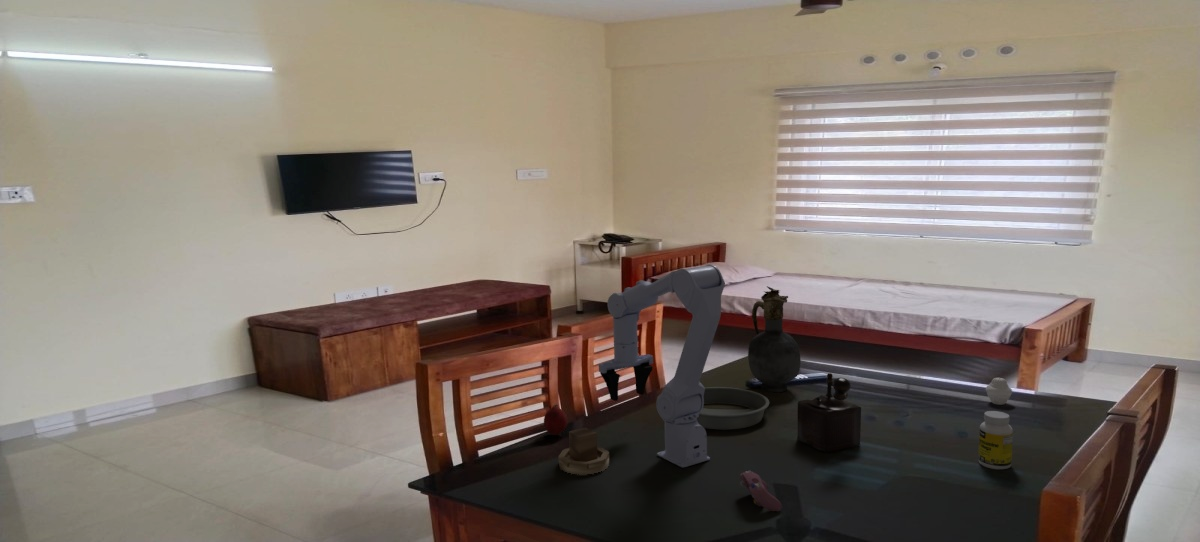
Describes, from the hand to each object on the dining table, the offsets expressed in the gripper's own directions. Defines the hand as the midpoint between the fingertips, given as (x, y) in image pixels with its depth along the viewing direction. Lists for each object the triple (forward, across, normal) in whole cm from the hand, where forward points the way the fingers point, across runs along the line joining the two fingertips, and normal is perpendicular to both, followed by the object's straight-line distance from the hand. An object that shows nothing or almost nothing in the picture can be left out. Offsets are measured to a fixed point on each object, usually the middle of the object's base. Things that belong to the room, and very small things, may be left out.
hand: (627, 396), depth 179 cm
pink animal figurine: (+10, 0, +45) cm, 46 cm away
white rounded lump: (+10, -92, +39) cm, 100 cm away
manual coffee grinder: (+10, -34, +34) cm, 49 cm away
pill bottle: (+10, -52, +61) cm, 81 cm away
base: (+10, +18, +9) cm, 22 cm away
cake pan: (+10, -28, +2) cm, 30 cm away
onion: (+10, +14, -11) cm, 20 cm away
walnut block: (+8, +18, +9) cm, 22 cm away
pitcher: (+10, -56, -8) cm, 57 cm away
